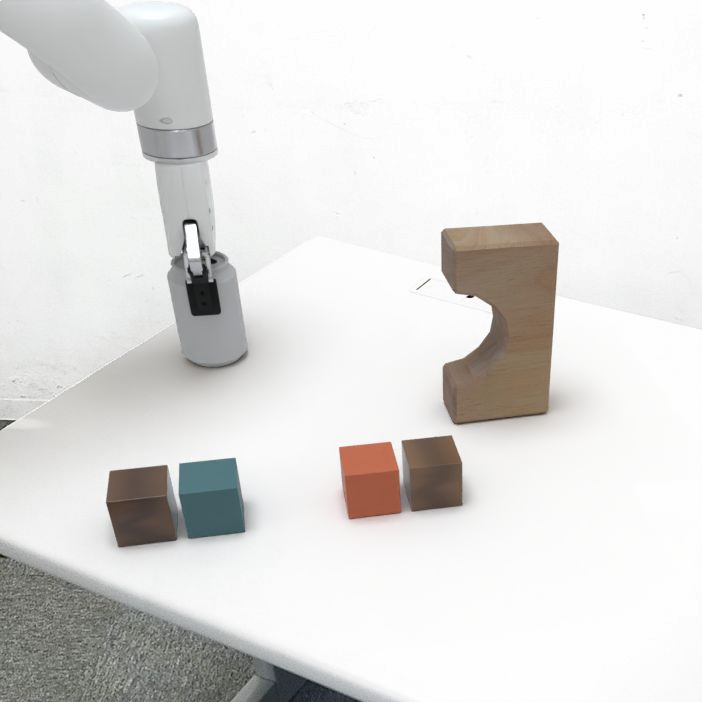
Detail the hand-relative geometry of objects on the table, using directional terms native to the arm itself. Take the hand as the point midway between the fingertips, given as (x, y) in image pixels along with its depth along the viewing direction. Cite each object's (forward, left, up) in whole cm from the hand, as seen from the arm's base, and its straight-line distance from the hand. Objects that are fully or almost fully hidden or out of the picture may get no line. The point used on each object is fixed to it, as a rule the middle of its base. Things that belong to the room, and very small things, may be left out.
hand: (206, 297), depth 110 cm
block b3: (+14, -33, -7) cm, 37 cm away
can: (0, 0, -7) cm, 7 cm away
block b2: (-1, -33, -7) cm, 34 cm away
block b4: (+20, -33, -7) cm, 39 cm away
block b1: (-7, -33, -7) cm, 34 cm away
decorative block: (+30, -18, -7) cm, 36 cm away
